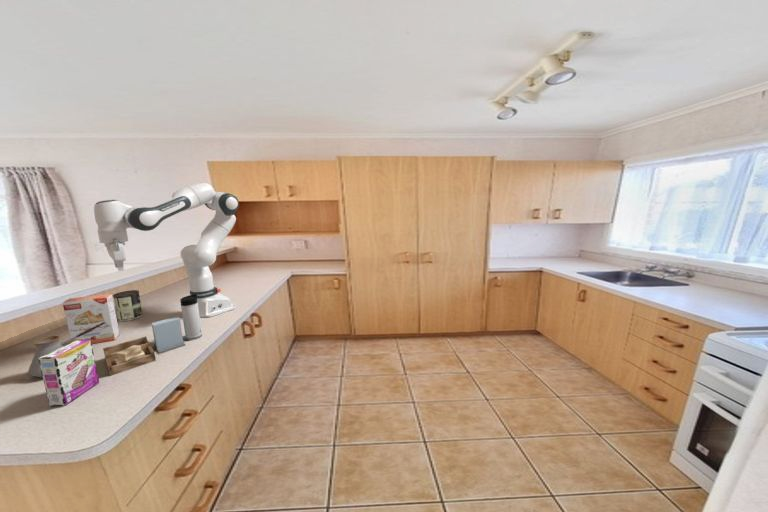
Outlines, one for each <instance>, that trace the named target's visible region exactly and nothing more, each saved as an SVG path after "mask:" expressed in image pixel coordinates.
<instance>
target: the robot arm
mask: <svg viewBox="0 0 768 512" xmlns="http://www.w3.org/2000/svg"><path fill="white" fill-rule="evenodd" d="M171 196H172V197H171V199H170V200H168V201H166V202H162V203H160V204H158V205H156V206H152V207H144V206H143V207H135V206H133V205H130V204H127V203H125V202H124V203H123V202H122V201H120V200H118V199H108V200H107V199H106V200H99V201H97V202H96V203H94V207H93V211H94V212H93V214H94V220H95V223H96V224H97V236H98V240H99V243H100V244H104V247H105V248H106V251H107V253H108V255H109V257H110V258H111V259H112V261H113V262H114V266H115V268H116V269H117V270H118V272H122V271H124V270H125V267H124V262H125V261H127V256H126V252H125V247H124V246H125V245H126V242H129V237H128V231H127V229H134V230H139V231H143V232H148V231H149V232H150V231H152V230H154V229H156V228H157V227H159V226H160V224H161V223H162V222H164V220H166V219H168V218H170V217H173V216H175V215H178V214H179V213H182V212H186V211H190V210H192V209H196V208H198V207H201V206H203V205H204V206H205V207H206V208H208V209H209V210H212V211H215V214H214V215H213V218H212V219H211V220H210V221H209V223H208V224H207V225H206V227H205V228H204V229H203V230H202V231H201V234H200V238H199V240H198V242H197V243H196V244H189V245H185V246H184V247H183V248H182V249H181V250H180V257H181V259H182V261H183V265H184V268H185V272H186V273H187V278H188V283H189V288H190V290H189V295H194V294H196V295H197V302H198V309H199V316H200V318H212V317H214V316H218V315H220V314H224V313H226V312H230V311H232V310H235V309H236V308H237V306H236V304H235V303H234V302H231V299H230V298H229V297H228V296H227V295H225V294H223V293H220V292H221V291H222V289H221V288H220V287H216V286H214V284H215V283H214V277H213V273H212V272H211V269H210V266H212V265H213V264H215V262H216V260H217V254H218V252H219V250H220V249H219V248H220V247H221V246H222V245H221V244H222V243H223V242H224V240H225V239H226V238H227V237H228V235H229V234H230V232H231V231H232V230H233V228H234V226H235V224H236V221H237V217H236V215H235V214H236V213H237V211H238V210H239V206H240V205H239V204H240V201H239V199H238V197H237V196H235V195H234V194H232V193H229V192H223V191H215V189H214V187H213V186H212V185H211V184H209V183H208V182H198V183H193V184H190V185H187V186H183V187H181V188H179V189H177V190H176V191H174V192H173V193H172V195H171Z"/></svg>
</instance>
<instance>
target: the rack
mask: <svg viewBox="0 0 768 512" xmlns="http://www.w3.org/2000/svg"><path fill="white" fill-rule="evenodd" d="M133 345H138V346H141V350H142V351H143V352H144V353H145V356H142V357H139V358H136V359H133V360H130V361H126V362H123V363H120V364H117V365H116V364H115V359H118V355H117V353H119V352H121V351H123V350H125V349H127V348H129V347H131V346H133ZM102 350H103V354H104V360H105V363H106V368H107V370H108V375H109V377H110V376H114V375H116V374H119V373H123V372H125V371H129V370H131V369H134V368H138V367H141V366H143V365H146V364H149V363H153V362H155V361H157V359H156V355H155V350H154V349H153V347H152V345H151V342H149V340H148V338H147V336H142V337H139V338H135V339H131V340H128V341H124V342H121V343H120V342H119V343H117V344H114V345H109V346H106V347H103V348H102Z"/></svg>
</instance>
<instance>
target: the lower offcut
mask: <svg viewBox="0 0 768 512" xmlns="http://www.w3.org/2000/svg"><path fill="white" fill-rule="evenodd" d="M142 356H145V353H144V352H143V351H142V353H140V354H138V355H136V356H135V357H133V358H131V359H129V360H127V361H130V360H133V359H136V358H139V357H142ZM123 362H126V361H119V360H118V359H115V364H116V365H117V364H120V363H123Z"/></svg>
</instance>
